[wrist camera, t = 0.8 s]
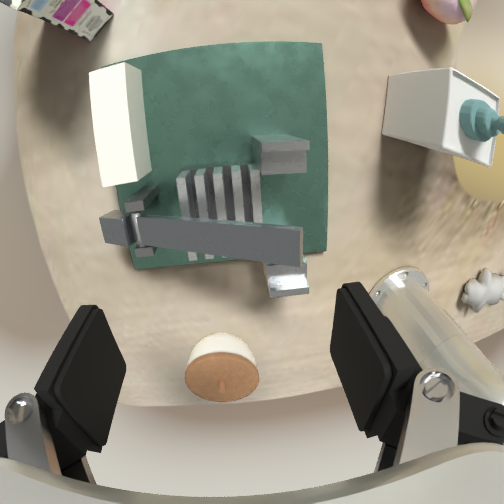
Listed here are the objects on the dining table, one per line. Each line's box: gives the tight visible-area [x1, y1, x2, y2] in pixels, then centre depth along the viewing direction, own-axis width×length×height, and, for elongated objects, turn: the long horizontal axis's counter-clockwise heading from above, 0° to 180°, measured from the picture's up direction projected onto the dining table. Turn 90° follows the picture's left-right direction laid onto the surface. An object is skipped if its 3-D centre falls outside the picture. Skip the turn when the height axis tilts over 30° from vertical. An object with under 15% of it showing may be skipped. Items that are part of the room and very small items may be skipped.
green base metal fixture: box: [102, 42, 328, 298], centre depth 28 cm, size 27×26×11 cm
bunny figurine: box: [461, 268, 504, 312], centre depth 45 cm, size 10×5×15 cm
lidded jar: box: [185, 332, 259, 402], centre depth 42 cm, size 11×11×9 cm
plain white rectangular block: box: [89, 62, 152, 187], centre depth 27 cm, size 12×4×6 cm, turn 4°
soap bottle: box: [382, 67, 504, 167], centre depth 23 cm, size 9×9×19 cm
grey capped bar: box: [99, 210, 303, 267], centre depth 26 cm, size 4×22×2 cm, turn 94°
